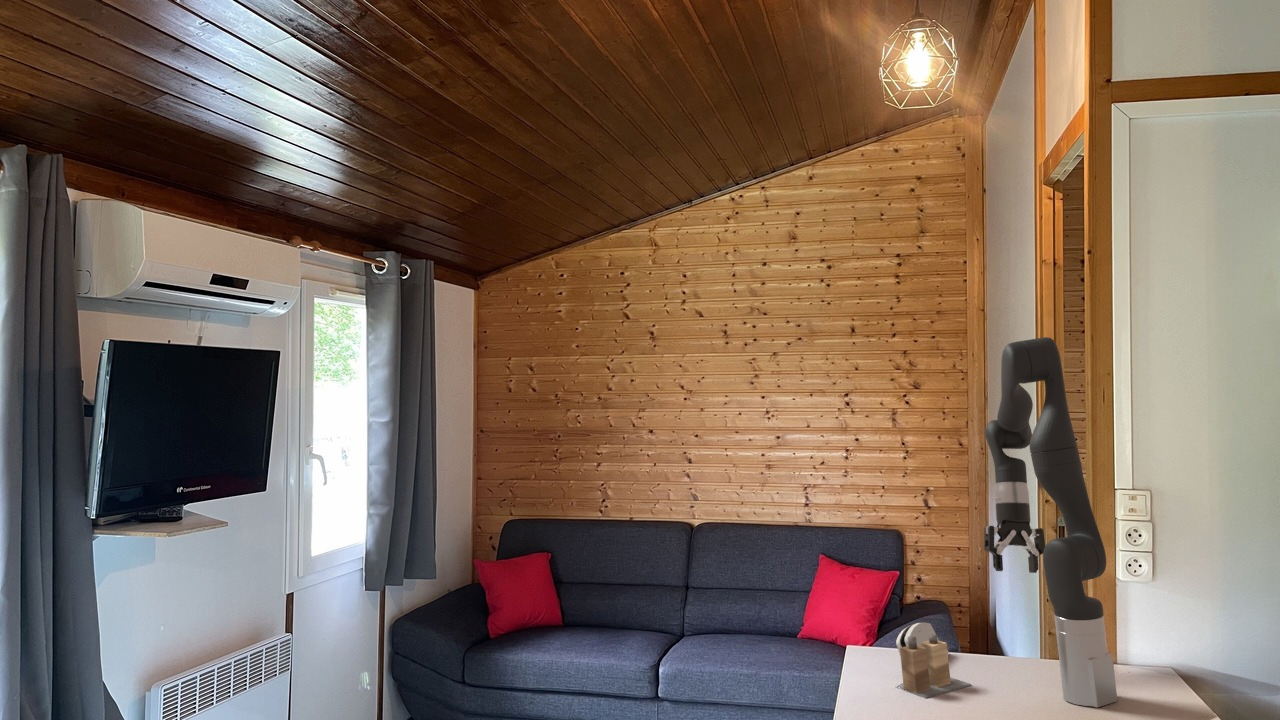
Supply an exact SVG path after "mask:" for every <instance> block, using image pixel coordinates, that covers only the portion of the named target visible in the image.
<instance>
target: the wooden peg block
mask: <svg viewBox="0 0 1280 720" xmlns="http://www.w3.org/2000/svg"><path fill="white" fill-rule="evenodd" d="M937 637H938V634H936V635H934V634H932V635H929V641H925V642H921V643H920V644H921V647H924V648H926V651H927V661H928V671H929V680H930V685H932V686H935V687H940V686H944V685H948V684H951V680H950V677H951V673H950V663H949V655H948V651H949V650H948V651H947V649H948V643H947V642H945V641H941V640H939V641H938V640H937Z"/></svg>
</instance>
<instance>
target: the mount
mask: <svg viewBox="0 0 1280 720" xmlns="http://www.w3.org/2000/svg"><path fill="white" fill-rule="evenodd" d="M899 656H900V663H901V673H902V675H901V676H902V683H900V685H898V684H897V685H898V686H897V687H900V688H902V689H904V690H903V691H905V690H906V691H905V692H908V693H910V694H912V695H916V696H918V697H921V698H924V699H929V698H933V697H935V696H939V695H943V694H947V693H949V692H950V693H951V692H953V691H957V690H961V689H963V688H968V687H971V686H972V683H969V682H966V681H963V680H960V679H958V678H953V677H951V676H950V680H951V684H948V685H944V686H940V687H935V686H932V685H930V680H929V671H928V661H927V651H926V648H924V647H920V646H917V642H916V637H915V636H909V637H908V646H906V647H902V648H900V653H899ZM897 687H896V688H897ZM902 689H901V690H902Z"/></svg>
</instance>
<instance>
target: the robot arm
mask: <svg viewBox="0 0 1280 720" xmlns="http://www.w3.org/2000/svg"><path fill="white" fill-rule="evenodd" d="M1057 345H1058V344H1057V343H1056V342H1055V340H1054V339H1053V338H1052V337H1048V336H1046V337H1037V338H1031V339H1026V340H1018V341H1014V342H1010V343H1008V344H1006V345H1005V346H1004V348H1003V350H1002V355H1001V366H1000V368H1001V369H1000V373H1001V374H1000V375H1001V376H1000V380H1001V381H1000V382H1001V386H1000V387H1001V397H1000V398H1001V399H1000V404H999V407H998V410H997V416H996V417H997V418H996V419H993V420H990V421H989V422H987V424H986V426H985V428H984V436H985V439H986V442H987V445H988V449H989V451H990V453H991V457H992V461H993V465H994V476H995V477H994V478H995V480H994V481H995V490H994V501H995V519H996V522H997V524H996V526H994V525H985V526H984V529H983V531H984V533H983V535H984V538H983V539H984V541H983V547H984V548H983V549H984V552H988V553H990V554H991V555H992V567H993V569H994V570H995V571H996V572H1003V571H1004V564H1003V554H1002V553H1003V551H1004V550H1005V549H1006V548H1007V547H1008V546H1015V547H1016V546H1017V547H1018V546H1019V547H1022V549H1023V550H1025V552H1026V553H1027V555H1028V556H1027V557H1028V558H1027V559H1028V560H1027V561H1028V573H1031V574H1037V573H1038V571H1039V556H1041V555H1042V558H1043V559H1042V563H1043V570H1044V577H1045V582H1046V588H1047V594H1048V598H1049V601H1050V603H1051V605H1052V608H1053V614H1054V623H1055V633H1056V642H1057V653H1058V659H1059V661H1058V662H1059V669H1060V679H1061V687H1062V697H1063V700H1065V701H1066V702H1068V703H1070V704H1074V705H1078V706H1084V707H1093V708H1100V707H1104V706H1106V705H1110V704H1113V703H1115V702H1118V694H1117V685H1116V675H1115V667H1114V666H1115V665H1114V659H1113V658H1114V657H1113V654H1112V653H1109V652H1108V644H1107V635H1106V626H1105V616H1104V608H1103V607H1104V606H1103V603H1102V601H1101V600H1100V599H1098V598H1095V597H1092V596H1089V595H1086V593H1085V589H1084V584H1083V582H1085V581H1089V580H1090V581H1091V580H1094V579H1097V578H1100V577H1101V576H1103V574H1104V573H1105V570H1106V568H1107V555H1106V549H1105V545H1104V542H1103V539H1102V537H1101V534H1100V530H1099V528H1098V524H1097V521H1096V519H1095V516H1094V512H1093V510H1092V507H1091V506H1092V505H1091V501H1090V498H1089V493H1088V490H1087V486H1086V485H1087V484H1086V482H1085V478H1084V473H1083V468H1082V462H1081V457H1080V453H1079V447H1078V444H1077V440H1076V435H1075V433H1074V428H1073V424H1072V420H1071V417H1070V416H1071V415H1070V411H1069V405H1068V400H1067V393H1066V387H1065V380H1064V379H1065V378H1064V371H1063V366H1062V359H1061V354H1060V351H1059V347H1058V346H1057ZM1037 382H1044V387H1045V391H1044V392H1045V394H1044V395H1045V396H1044V403H1043V406H1042V410H1041V413H1040V415H1039V417H1038V419H1037V422H1036V425H1035V426H1034V428H1033V431H1032V428H1031V425H1030V419H1031V416H1032V412H1033V408H1034V407H1033V406H1034V404H1033V400H1032V397H1031V395H1030V393H1029V392H1028V391H1027V390H1026V389H1025V388H1024V387H1023V386H1022V385H1021V384H1030V383H1031V384H1032V383H1037ZM1027 447H1029V452H1030V456H1031V462H1032V466H1033V470H1034V471H1033V472H1034V474H1035V478H1036V479H1037V480H1038V483H1039V484H1040V486H1041V487H1042V488H1043V490H1045V492H1046V493H1047V495H1048V496H1049V497H1050V498H1051V499H1052V501H1053V502H1054V504H1056V506H1057V507H1058V509H1059V510H1060V513H1061V515H1062V517H1063V521H1064V524H1065V529H1066V534H1067V536H1064V537H1057V538H1054V539H1052V540H1049V541H1048V542H1047V543H1046V542H1045V541H1046V540H1045V533H1044V531H1045V530H1044V528H1042V527H1037V528H1032V527H1031V525H1030V524H1031V510H1030V509H1031V507H1030V493H1029V488H1028V478H1027V477H1028V476H1027V465H1026V464H1027V463H1026V461H1024V459H1020V458H1017V457H1012V456H1009V455H1007V454H1006V453H1005V452H1004V449H1005V450H1022V449H1026V448H1027ZM996 534H997V535H998V536H999V538H998V539H997V541H996V542H995V536H996ZM1030 537H1033V541H1034V542H1033V541H1032V539H1031V538H1030Z"/></svg>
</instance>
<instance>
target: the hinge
mask: <svg viewBox="0 0 1280 720" xmlns="http://www.w3.org/2000/svg"><path fill="white" fill-rule="evenodd" d="M932 634H934V635H937V634H936V631H935V629H934V628H933V626H932V624H931V623H929V622H917V623H913V624H910V625H908V626H907V627H905V628H904V629H902V630H901V632H899V634H898V636H897V638H896V641H895V644H896V645H895V646H896V647H897V650H898V653H899V654H900V648H902V647H906V646H908V637H909V636H915V637H916V642H917V646H920V647H921V644H920V643H921V642H925V641H929V635H932ZM937 640H938V641H940V640H939V637H938V636H937ZM947 651H948V653H949V654H948V656H949V655H950V652H949V649H948V648H947Z"/></svg>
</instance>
